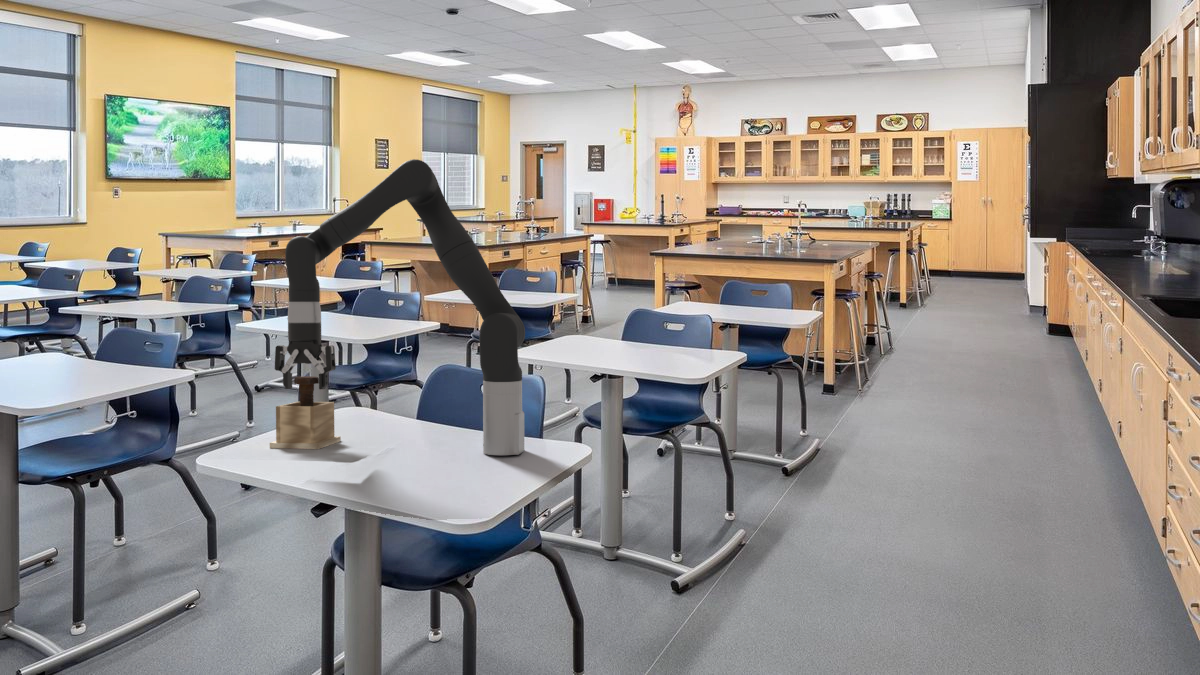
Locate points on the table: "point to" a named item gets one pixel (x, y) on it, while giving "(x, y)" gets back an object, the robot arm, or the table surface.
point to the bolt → (306, 389)
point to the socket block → (305, 426)
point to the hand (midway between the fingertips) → (305, 389)
